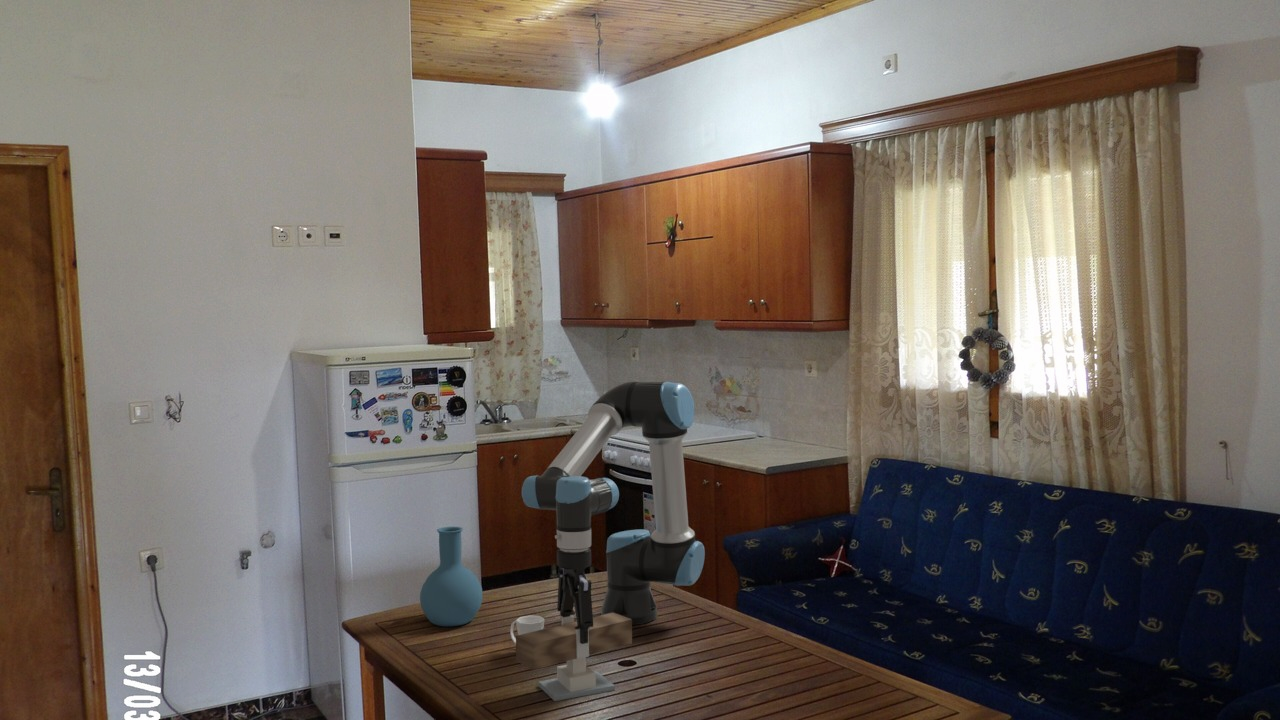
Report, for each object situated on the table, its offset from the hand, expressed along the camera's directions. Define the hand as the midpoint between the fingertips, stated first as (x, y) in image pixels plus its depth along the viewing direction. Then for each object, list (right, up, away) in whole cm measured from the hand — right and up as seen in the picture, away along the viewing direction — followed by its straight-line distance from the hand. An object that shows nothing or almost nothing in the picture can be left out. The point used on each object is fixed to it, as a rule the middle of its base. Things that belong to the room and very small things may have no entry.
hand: (575, 651), depth 222 cm
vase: (-36, -7, +51) cm, 63 cm away
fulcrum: (0, -8, +1) cm, 8 cm away
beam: (0, 0, 0) cm, 0 cm away
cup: (-14, -7, +26) cm, 30 cm away
